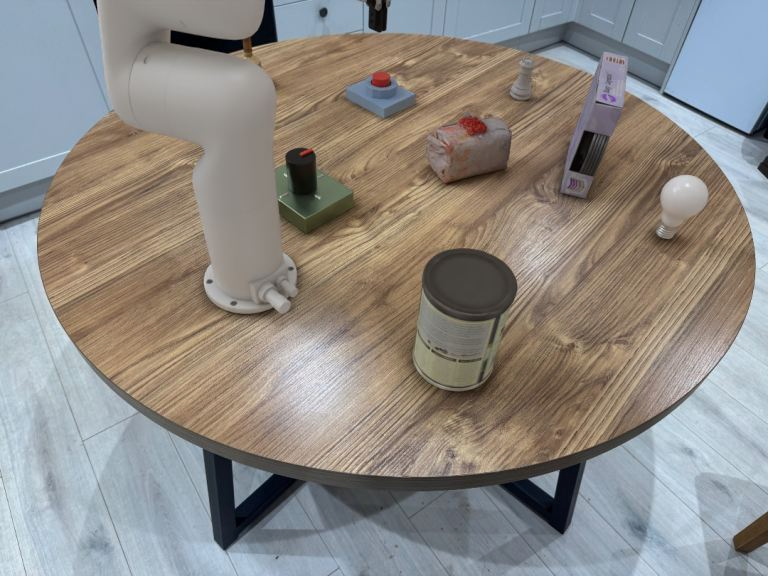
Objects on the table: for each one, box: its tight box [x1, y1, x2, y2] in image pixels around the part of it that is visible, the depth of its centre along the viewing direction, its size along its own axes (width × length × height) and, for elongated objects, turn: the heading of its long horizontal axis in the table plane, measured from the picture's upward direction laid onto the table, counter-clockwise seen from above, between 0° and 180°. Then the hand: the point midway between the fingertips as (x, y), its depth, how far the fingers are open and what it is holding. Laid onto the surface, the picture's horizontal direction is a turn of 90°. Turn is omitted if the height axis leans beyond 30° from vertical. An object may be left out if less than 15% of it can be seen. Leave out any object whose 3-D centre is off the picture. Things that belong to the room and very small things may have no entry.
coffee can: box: [412, 247, 518, 392], centre depth 66 cm, size 10×10×14 cm
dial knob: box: [284, 147, 317, 194], centre depth 88 cm, size 5×5×6 cm
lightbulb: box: [655, 174, 709, 240], centre depth 86 cm, size 6×6×11 cm
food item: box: [425, 111, 513, 184], centre depth 97 cm, size 14×8×10 cm, turn 114°
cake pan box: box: [560, 51, 630, 200], centre depth 96 cm, size 19×5×18 cm, turn 161°
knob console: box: [274, 163, 355, 235], centre depth 91 cm, size 13×10×3 cm
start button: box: [371, 71, 391, 88], centre depth 113 cm, size 4×4×2 cm
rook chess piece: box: [509, 56, 536, 102], centre depth 118 cm, size 4×4×8 cm
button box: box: [345, 75, 417, 119], centre depth 115 cm, size 11×9×4 cm
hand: (377, 29), depth 105 cm, fingers closed
